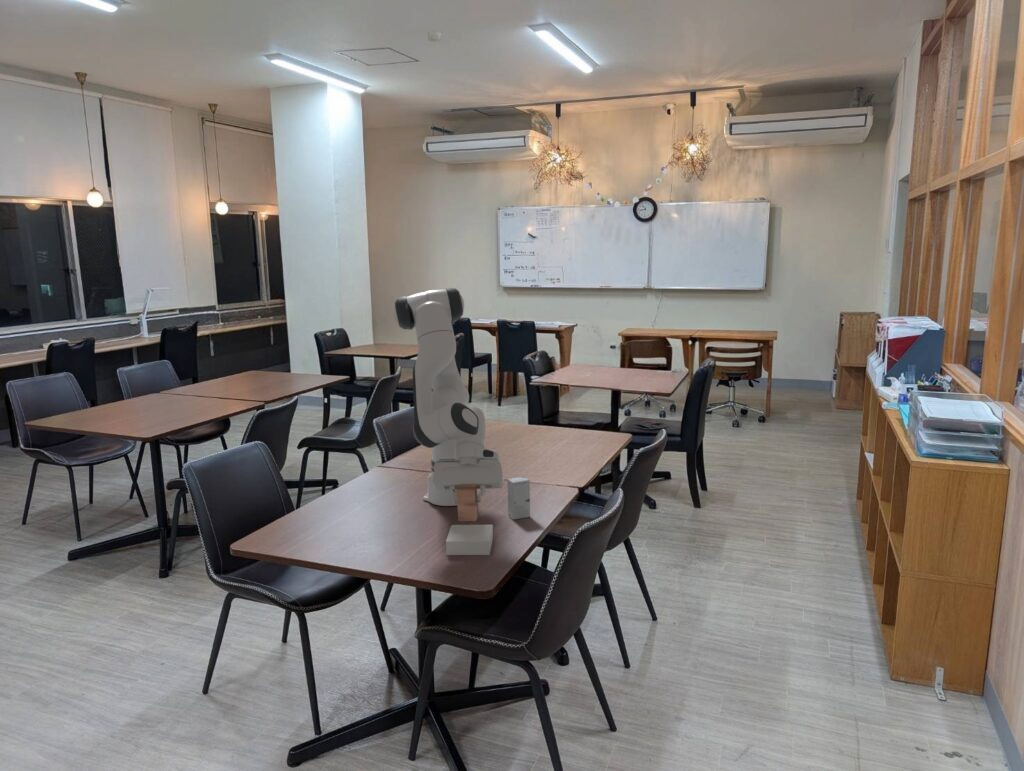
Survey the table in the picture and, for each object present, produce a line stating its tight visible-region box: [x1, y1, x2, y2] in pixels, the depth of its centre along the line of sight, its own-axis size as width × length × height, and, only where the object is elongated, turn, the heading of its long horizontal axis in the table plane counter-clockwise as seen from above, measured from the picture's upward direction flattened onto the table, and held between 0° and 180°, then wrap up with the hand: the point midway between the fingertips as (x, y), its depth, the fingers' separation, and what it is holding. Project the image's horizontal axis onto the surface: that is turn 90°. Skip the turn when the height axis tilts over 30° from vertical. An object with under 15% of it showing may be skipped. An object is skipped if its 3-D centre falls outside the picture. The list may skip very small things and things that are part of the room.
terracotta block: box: [456, 485, 479, 522], centre depth 195 cm, size 5×5×9 cm
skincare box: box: [506, 476, 531, 520], centre depth 219 cm, size 6×4×12 cm
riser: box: [445, 524, 494, 556], centre depth 198 cm, size 12×12×4 cm
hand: (467, 501), depth 195 cm, fingers closed on terracotta block, 5 cm apart
